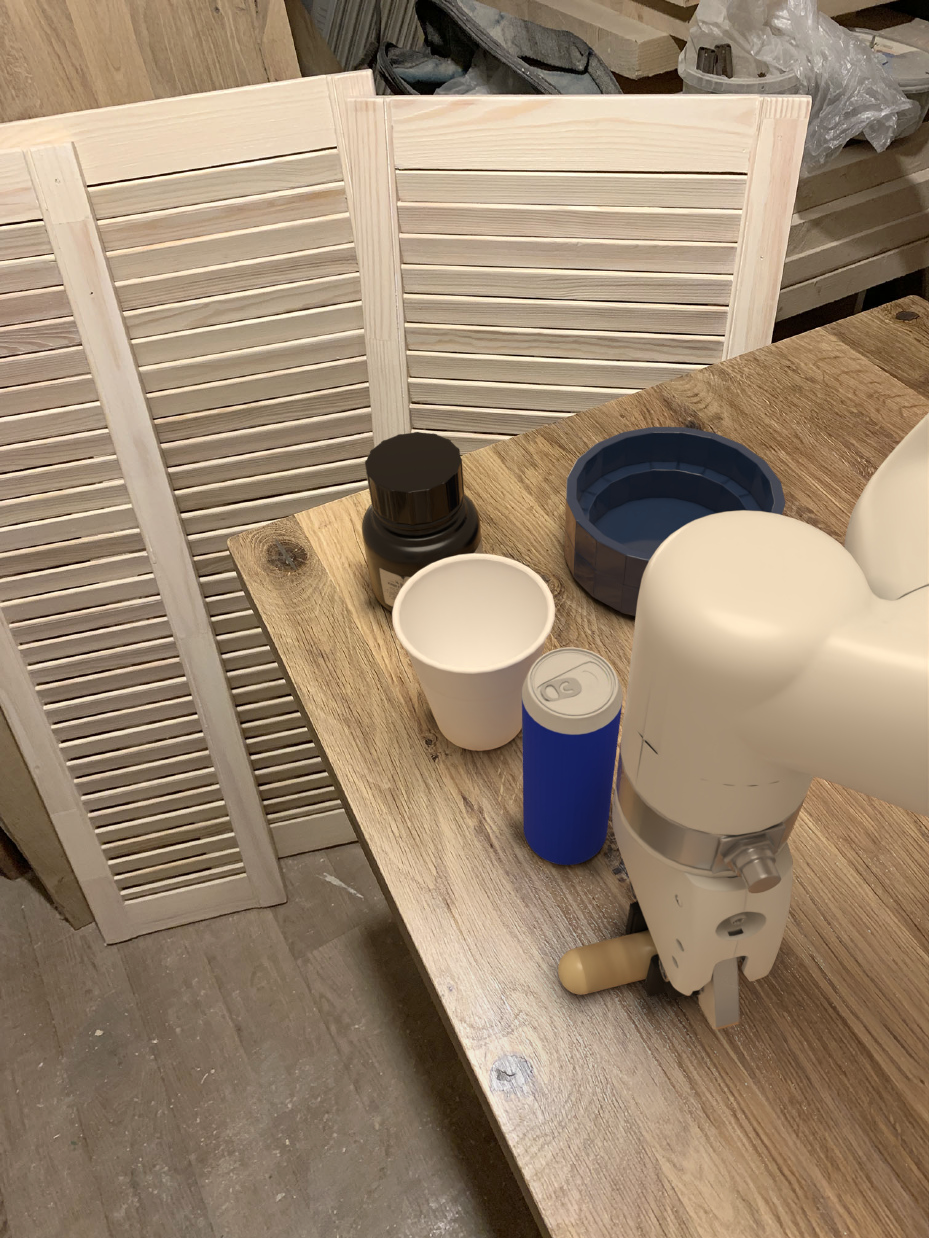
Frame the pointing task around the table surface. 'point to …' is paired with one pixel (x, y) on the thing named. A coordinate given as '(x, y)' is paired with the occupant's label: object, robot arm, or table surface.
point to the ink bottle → (415, 510)
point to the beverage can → (569, 753)
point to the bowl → (653, 501)
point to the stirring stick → (607, 963)
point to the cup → (474, 642)
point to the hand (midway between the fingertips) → (663, 956)
